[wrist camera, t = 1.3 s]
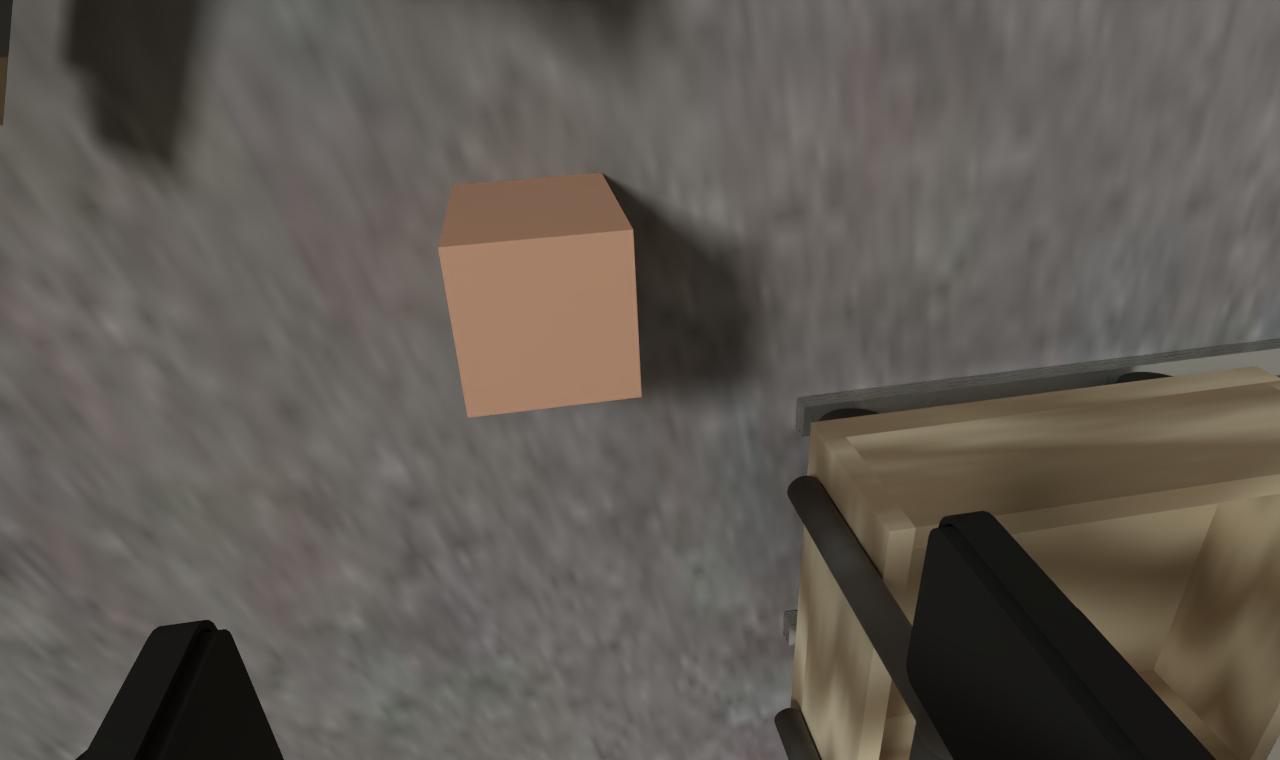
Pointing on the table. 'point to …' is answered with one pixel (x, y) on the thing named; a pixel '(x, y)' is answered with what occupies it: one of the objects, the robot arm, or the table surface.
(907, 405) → the rails
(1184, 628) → the cart
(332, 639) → the table surface
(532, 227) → the block
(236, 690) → the robot arm
